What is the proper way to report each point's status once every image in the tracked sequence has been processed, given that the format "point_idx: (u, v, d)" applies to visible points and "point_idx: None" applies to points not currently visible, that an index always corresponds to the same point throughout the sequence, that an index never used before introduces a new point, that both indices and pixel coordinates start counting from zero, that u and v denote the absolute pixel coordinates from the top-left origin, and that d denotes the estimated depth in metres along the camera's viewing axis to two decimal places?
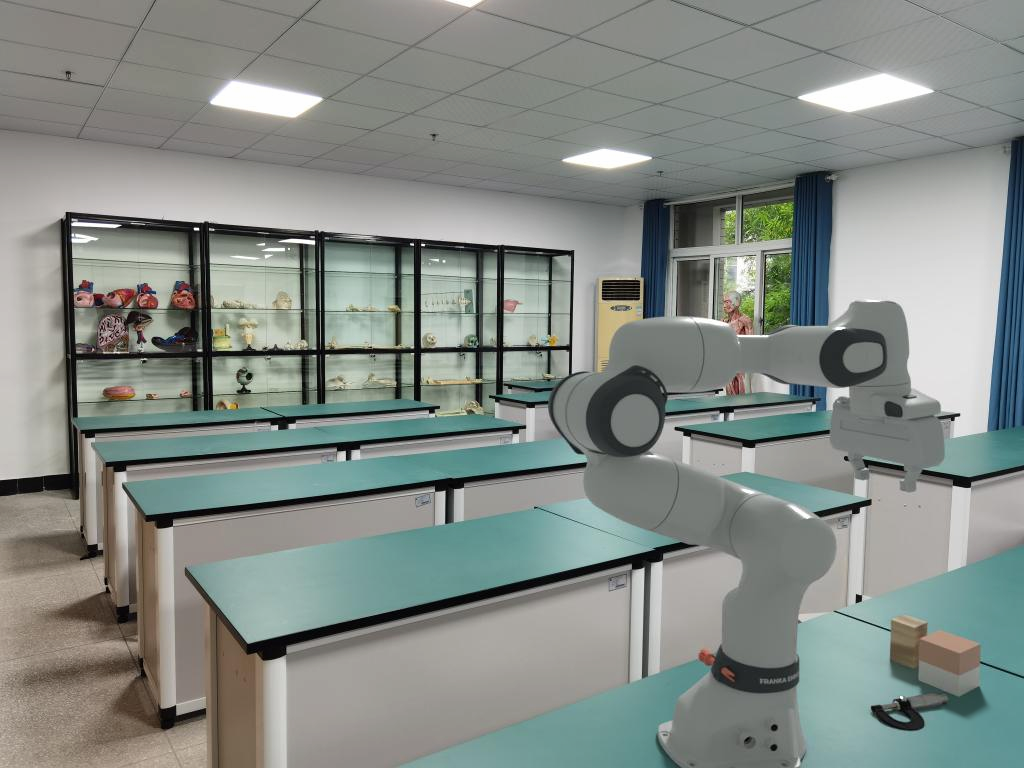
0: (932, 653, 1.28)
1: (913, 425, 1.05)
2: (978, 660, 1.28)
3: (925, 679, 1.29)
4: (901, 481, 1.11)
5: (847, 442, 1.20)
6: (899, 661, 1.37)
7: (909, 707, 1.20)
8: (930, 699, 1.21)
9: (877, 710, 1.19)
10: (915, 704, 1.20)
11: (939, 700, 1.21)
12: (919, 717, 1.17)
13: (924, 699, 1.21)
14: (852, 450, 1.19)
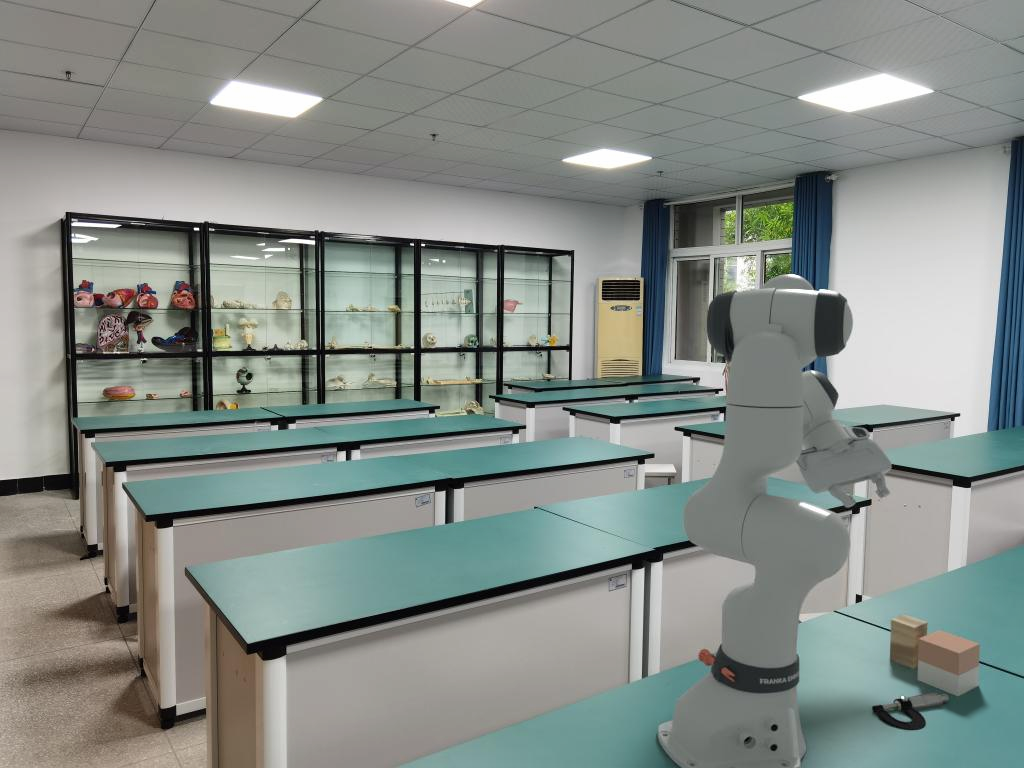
0: (931, 653, 1.28)
1: None
2: (977, 660, 1.28)
3: (924, 679, 1.30)
4: (882, 487, 1.44)
5: (834, 474, 1.42)
6: (899, 661, 1.37)
7: (910, 707, 1.20)
8: (931, 699, 1.21)
9: (878, 710, 1.19)
10: (916, 704, 1.20)
11: (940, 700, 1.22)
12: (920, 717, 1.17)
13: (925, 699, 1.21)
14: (841, 478, 1.42)
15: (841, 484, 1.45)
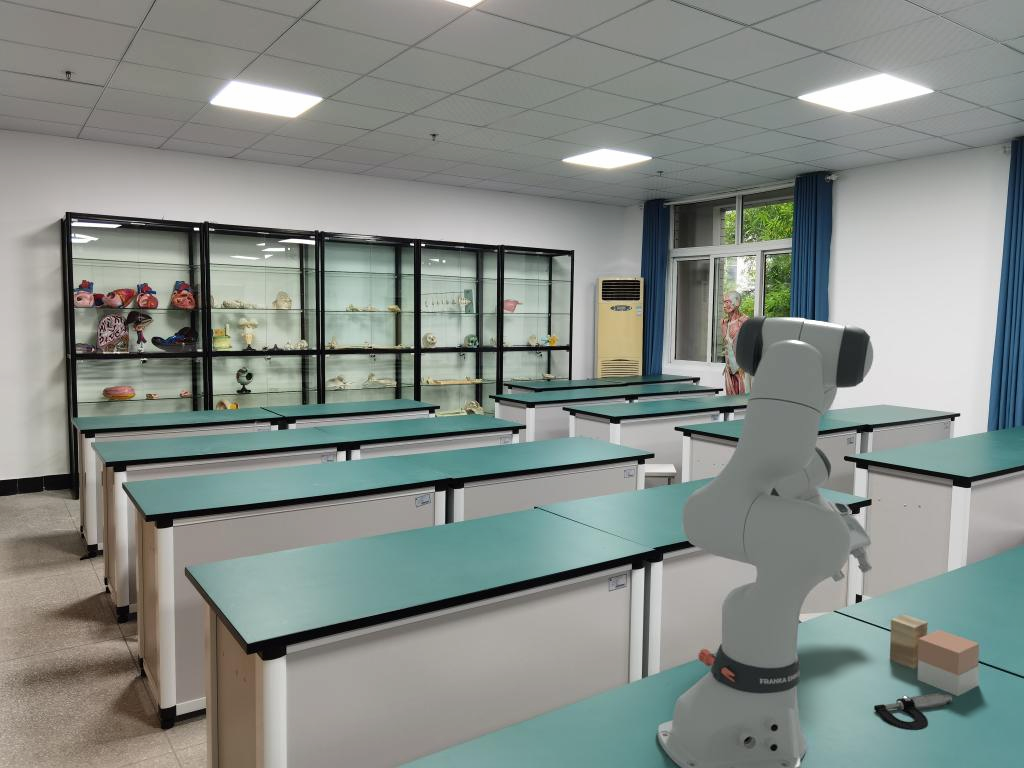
0: (931, 652, 1.28)
1: None
2: (977, 660, 1.28)
3: (924, 679, 1.30)
4: (865, 562, 1.49)
5: None
6: (899, 661, 1.37)
7: (913, 707, 1.20)
8: (934, 699, 1.21)
9: (880, 710, 1.19)
10: (919, 704, 1.20)
11: (943, 700, 1.21)
12: (922, 717, 1.17)
13: (928, 699, 1.21)
14: None
15: None
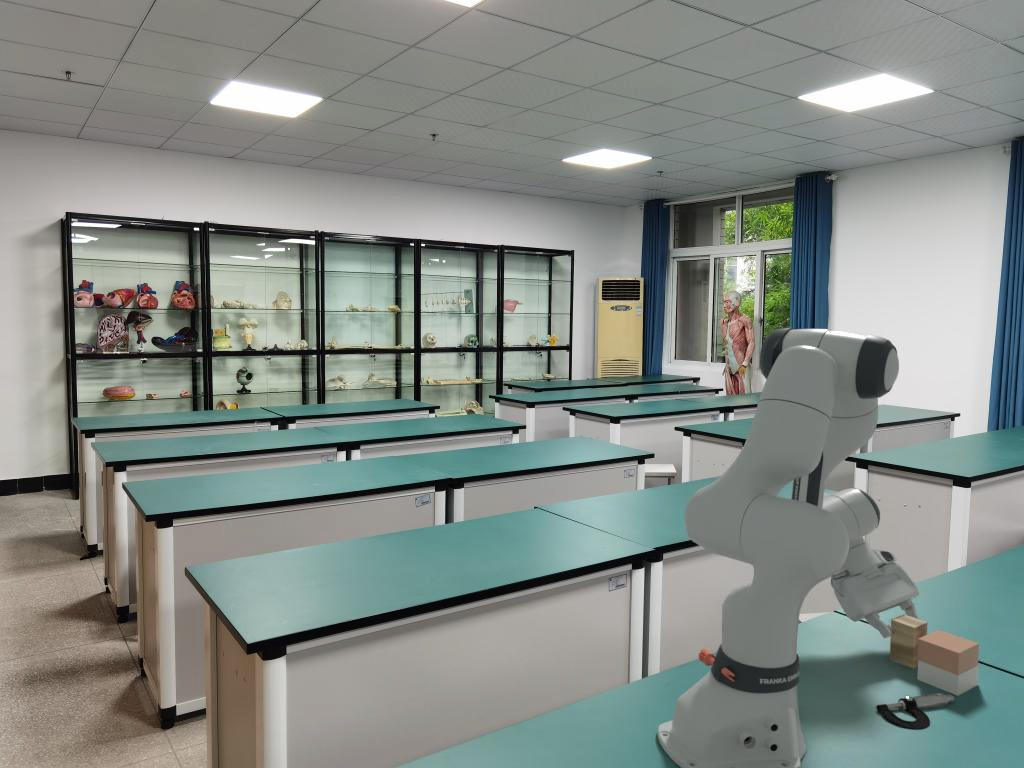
0: (931, 653, 1.28)
1: None
2: (976, 660, 1.28)
3: (924, 678, 1.30)
4: (913, 615, 1.41)
5: (871, 601, 1.38)
6: (899, 661, 1.37)
7: (915, 707, 1.20)
8: (936, 699, 1.21)
9: (882, 709, 1.19)
10: (921, 704, 1.21)
11: (945, 700, 1.21)
12: (925, 717, 1.18)
13: (930, 699, 1.21)
14: (878, 606, 1.38)
15: None
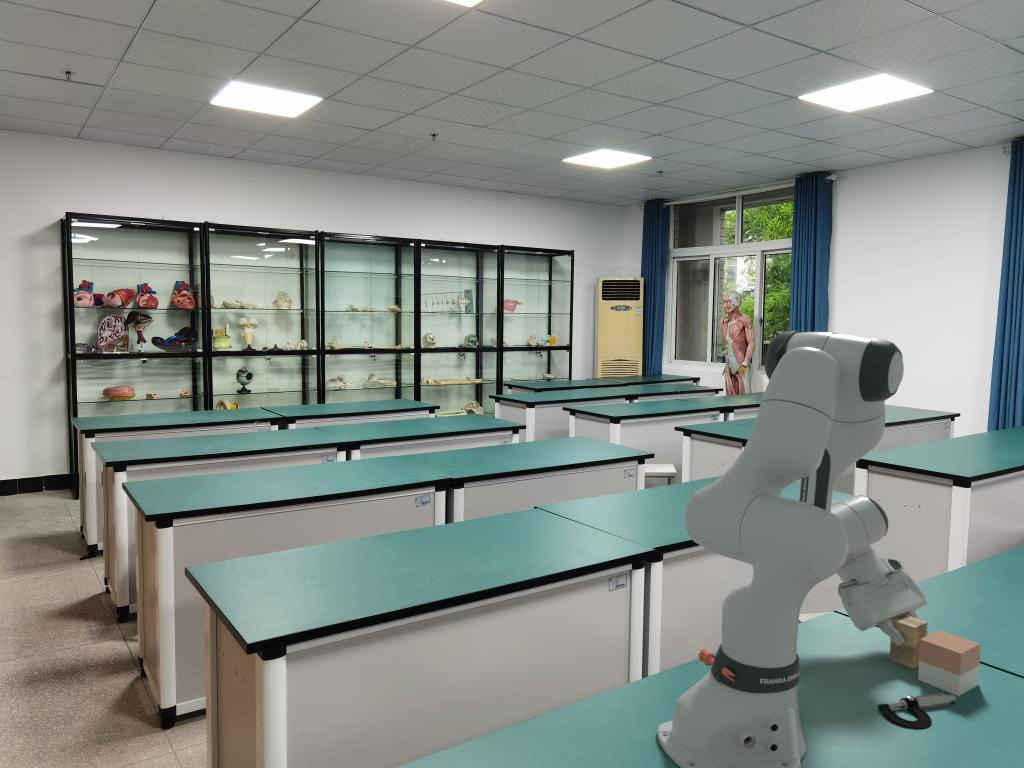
0: (933, 653, 1.28)
1: (906, 573, 1.46)
2: (978, 660, 1.28)
3: (925, 678, 1.30)
4: None
5: (879, 611, 1.36)
6: (899, 661, 1.37)
7: (916, 706, 1.20)
8: (938, 699, 1.21)
9: (884, 709, 1.19)
10: (923, 703, 1.20)
11: (947, 700, 1.21)
12: (926, 717, 1.18)
13: (932, 699, 1.21)
14: (886, 615, 1.36)
15: None
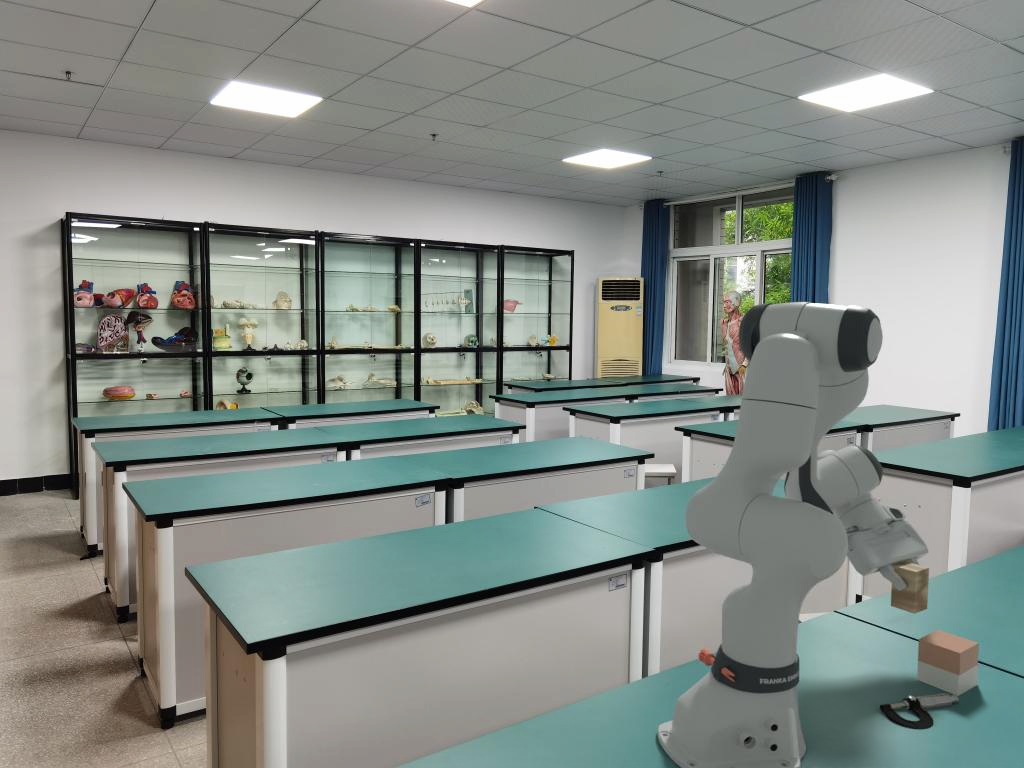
0: (932, 653, 1.28)
1: None
2: (976, 659, 1.28)
3: (924, 678, 1.30)
4: None
5: (881, 556, 1.36)
6: (900, 607, 1.36)
7: (918, 706, 1.20)
8: (940, 699, 1.21)
9: (886, 709, 1.19)
10: (925, 704, 1.21)
11: (949, 700, 1.21)
12: (928, 717, 1.18)
13: (934, 699, 1.21)
14: (888, 560, 1.35)
15: None
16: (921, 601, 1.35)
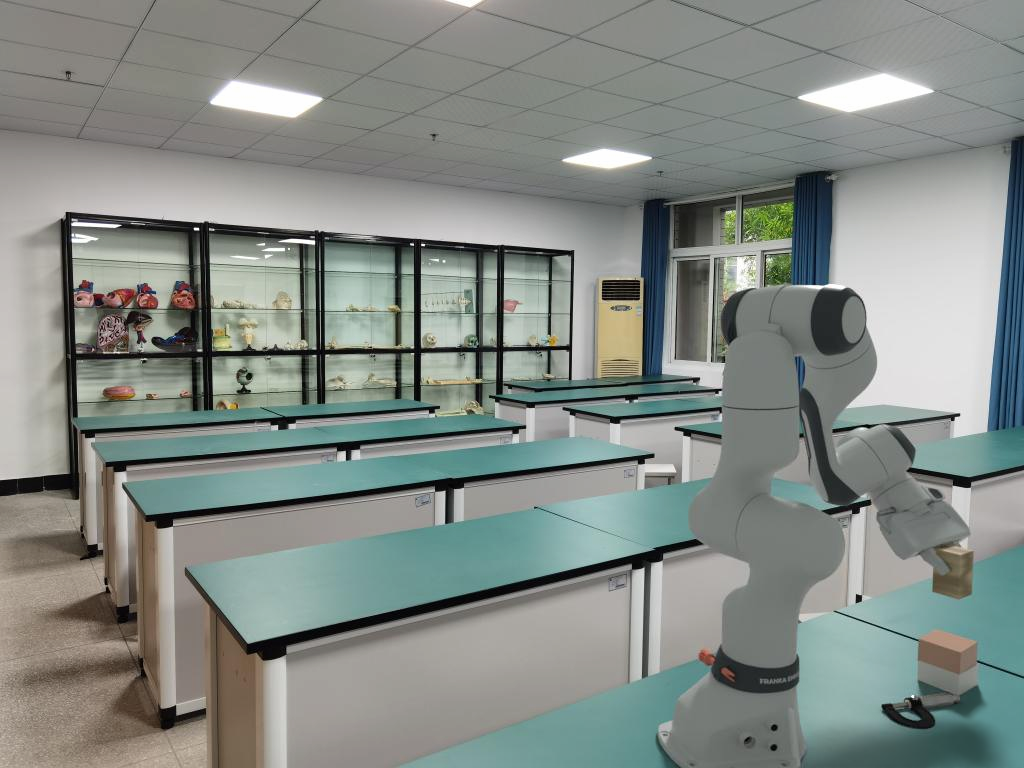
0: (932, 652, 1.28)
1: (948, 503, 1.36)
2: (975, 658, 1.28)
3: (924, 678, 1.30)
4: None
5: (922, 538, 1.27)
6: (943, 593, 1.27)
7: (920, 706, 1.20)
8: (942, 698, 1.21)
9: (888, 708, 1.19)
10: (926, 703, 1.21)
11: (951, 699, 1.22)
12: (930, 716, 1.18)
13: (936, 698, 1.21)
14: (929, 543, 1.27)
15: None
16: (965, 586, 1.26)
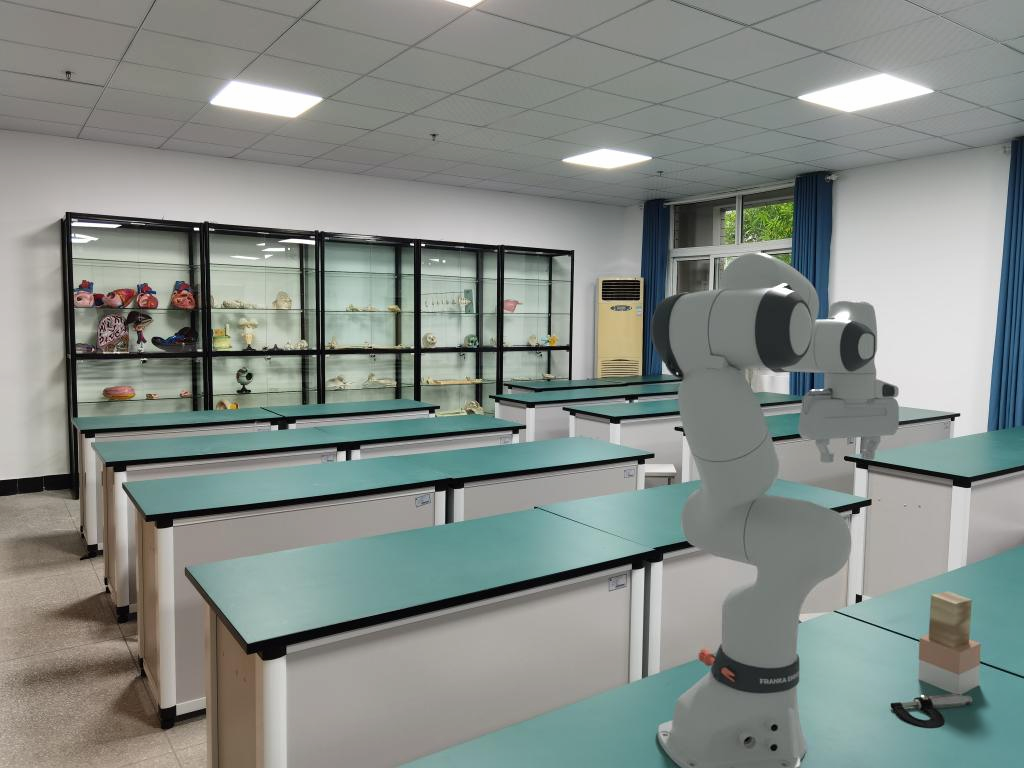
0: (932, 652, 1.28)
1: (896, 401, 1.35)
2: (978, 659, 1.28)
3: (925, 678, 1.30)
4: (870, 451, 1.36)
5: (830, 429, 1.32)
6: (938, 640, 1.29)
7: (930, 706, 1.20)
8: (953, 699, 1.21)
9: (896, 707, 1.20)
10: (937, 703, 1.21)
11: (962, 700, 1.21)
12: (939, 716, 1.18)
13: (946, 699, 1.21)
14: (835, 435, 1.32)
15: None
16: (961, 635, 1.27)
